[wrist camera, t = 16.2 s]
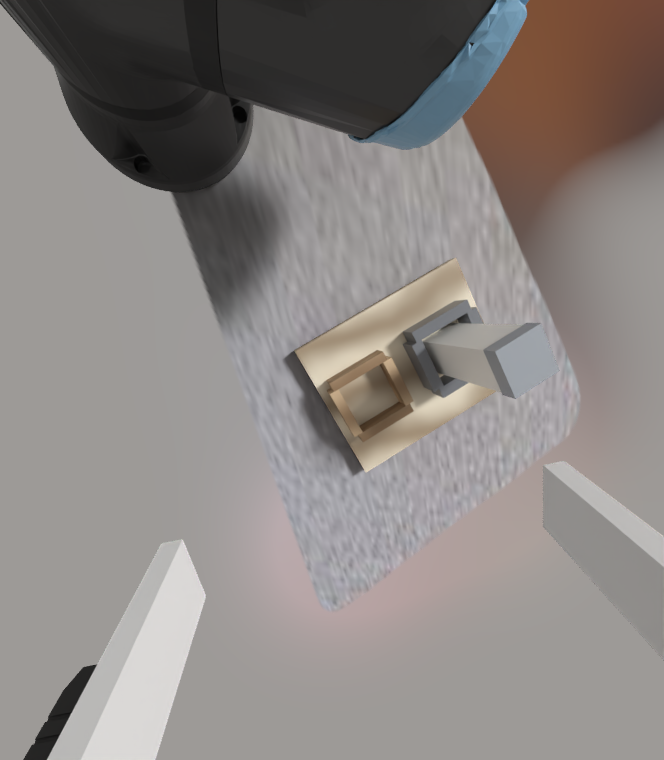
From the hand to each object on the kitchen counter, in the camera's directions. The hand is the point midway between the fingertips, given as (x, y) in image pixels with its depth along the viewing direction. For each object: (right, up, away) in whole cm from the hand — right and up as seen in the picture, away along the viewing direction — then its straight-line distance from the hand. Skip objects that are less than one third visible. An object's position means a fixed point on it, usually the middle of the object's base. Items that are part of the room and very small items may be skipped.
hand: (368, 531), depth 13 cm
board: (+7, +7, +27) cm, 29 cm away
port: (+12, +8, +27) cm, 30 cm away
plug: (+11, +9, +26) cm, 30 cm away
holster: (+3, +4, +26) cm, 26 cm away
